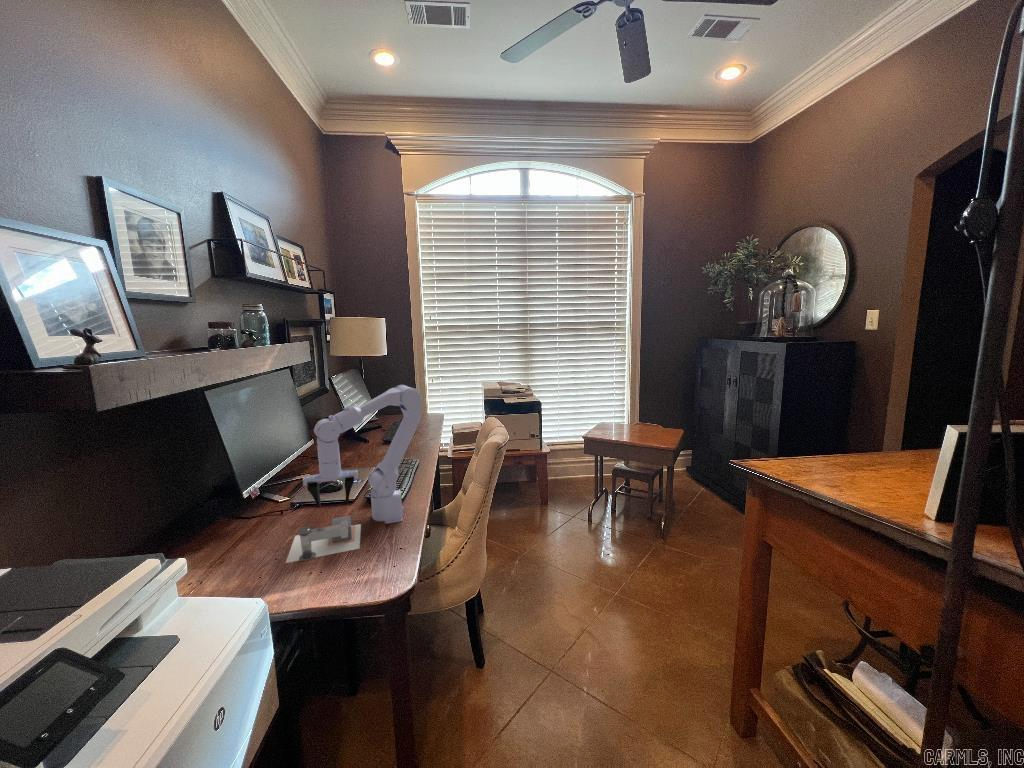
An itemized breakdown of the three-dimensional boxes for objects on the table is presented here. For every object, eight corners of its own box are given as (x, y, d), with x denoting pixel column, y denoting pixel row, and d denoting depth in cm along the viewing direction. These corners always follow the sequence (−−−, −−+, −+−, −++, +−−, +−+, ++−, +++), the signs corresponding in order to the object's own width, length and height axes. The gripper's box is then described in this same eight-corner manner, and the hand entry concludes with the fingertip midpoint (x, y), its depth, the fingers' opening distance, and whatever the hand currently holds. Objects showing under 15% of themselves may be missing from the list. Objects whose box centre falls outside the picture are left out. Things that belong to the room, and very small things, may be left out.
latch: (349, 552, 103) (346, 526, 102) (299, 562, 99) (296, 535, 98) (349, 542, 108) (347, 517, 107) (301, 551, 104) (299, 526, 102)
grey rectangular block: (351, 527, 116) (350, 515, 116) (351, 539, 110) (350, 526, 109) (333, 531, 114) (332, 518, 114) (332, 543, 108) (331, 530, 107)
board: (361, 526, 119) (360, 523, 118) (359, 553, 105) (359, 550, 104) (295, 538, 112) (295, 535, 112) (285, 568, 99) (284, 564, 98)
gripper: (356, 452, 118) (359, 494, 120) (303, 459, 113) (308, 502, 115) (355, 460, 111) (359, 504, 113) (299, 467, 106) (304, 512, 108)
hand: (333, 503), depth 114 cm, fingers open, 7 cm apart
